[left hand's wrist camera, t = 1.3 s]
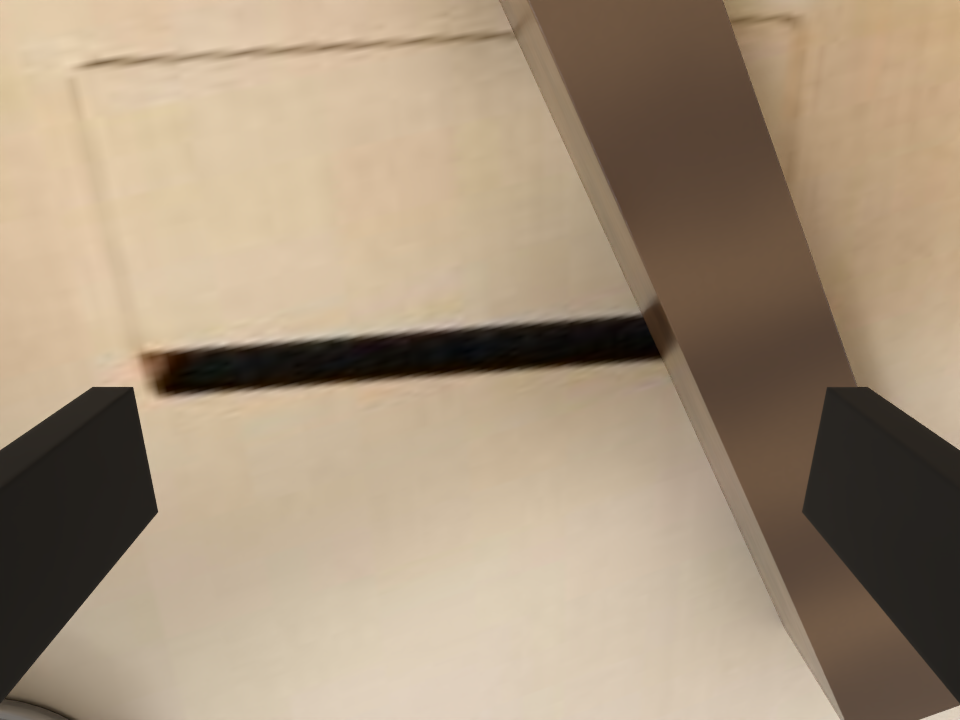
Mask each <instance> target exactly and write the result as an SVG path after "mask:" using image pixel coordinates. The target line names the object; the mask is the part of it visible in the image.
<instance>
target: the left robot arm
mask: <svg viewBox="0 0 960 720" xmlns="http://www.w3.org/2000/svg"><path fill="white" fill-rule="evenodd" d="M157 513H158V509H157V504H156V499H155V494H154V489H153V484H152V479H151V474H150V469H149V464H148V459H147V454H146V449H145V444H144V439H143V434H142V429H141V424H140V419H139V414H138V409H137V404H136V399H135V394H134V389H133V387H92V388H90V389H89V390H88V391H86V392H85V393H83V394H82V395H80V396H79V397H77V398H76V399H74V400H73V401H72V402H70V403H69V404H67V405H66V406H64V407H63V408H61V409H60V410H58V411H57V412H55V413H54V414H53V415H51V416H50V417H48V418H47V419H45V420H44V421H42V422H41V423H39V424H38V425H37V426H35V427H34V428H32V429H31V430H29V431H28V432H26V433H25V434H23V435H22V436H21V437H19V438H18V439H16V440H15V441H13V442H12V443H10V444H9V445H7V446H6V447H4V448H3V449H2V450H0V720H68V719H66V718H64V717H62V716H60V715H58V714H56V713H54V712H51V711H49V710H46V709H43V708H41V707H37V706H34V705H30V704H27V703H22V702H18V701H12V700H6V699H4V698H5V697H6V696H7V695H8V694H9V692H10V691H11V690H12V689H13V688H14V686H15V685H16V684H17V683H18V681H19V680H20V679H21V678H22V677H23V675H24V674H25V673H26V672H27V671H28V669H29V668H30V667H31V666H32V664H33V663H34V662H35V661H36V660H37V658H38V657H39V656H40V655H41V654H42V652H43V651H44V650H45V649H46V647H47V646H48V645H49V644H50V643H51V641H52V640H53V639H54V638H55V637H56V635H57V634H58V633H59V632H60V630H61V629H62V628H63V627H64V626H65V624H66V623H67V622H68V621H69V620H70V618H71V617H72V616H73V615H74V613H75V612H76V611H77V610H78V609H79V607H80V606H81V605H82V604H83V603H84V601H85V600H86V599H87V598H88V596H89V595H90V594H91V593H92V592H93V590H94V589H95V588H96V587H97V586H98V584H99V583H100V582H101V581H102V579H103V578H104V577H105V576H106V575H107V573H108V572H109V571H110V570H111V569H112V567H113V566H114V565H115V564H116V562H117V561H118V560H119V559H120V558H121V556H122V555H123V554H124V553H125V552H126V550H127V549H128V548H129V547H130V546H131V544H132V543H133V542H134V541H135V539H136V538H137V537H138V536H139V535H140V533H141V532H142V531H143V530H144V529H145V527H146V526H147V525H148V524H149V522H150V521H151V520H152V519H153V518H154V516H155V515H156V514H157ZM802 513H803V514H804V515H805V516H806V518H807V519H808V520H809V521H810V522H811V524H812V525H813V526H814V527H815V529H816V530H817V531H818V532H819V533H820V535H821V536H822V537H823V538H824V539H825V541H826V542H827V543H828V544H829V546H830V547H831V548H832V549H833V550H834V552H835V553H836V554H837V555H838V556H839V558H840V559H841V560H842V561H843V562H844V564H845V565H846V566H847V567H848V569H849V570H850V571H851V572H852V573H853V575H854V576H855V577H856V578H857V579H858V581H859V582H860V583H861V584H862V586H863V587H864V588H865V589H866V590H867V592H868V593H869V594H870V595H871V596H872V598H873V599H874V600H875V601H876V603H877V604H878V605H879V606H880V607H881V609H882V610H883V611H884V612H885V613H886V615H887V616H888V617H889V618H890V620H891V621H892V622H893V623H894V624H895V626H896V627H897V628H898V629H899V630H900V632H901V633H902V634H903V635H904V637H905V638H906V639H907V640H908V641H909V643H910V644H911V645H912V646H913V647H914V649H915V650H916V651H917V652H918V654H919V655H920V656H921V657H922V658H923V660H924V661H925V662H926V663H927V664H928V666H929V667H930V668H931V669H932V671H933V672H934V673H935V674H936V675H937V677H938V678H939V679H940V680H941V681H942V683H943V684H944V685H945V686H946V688H947V689H948V690H949V691H950V692H951V694H952V695H953V696H954V697H955V698H956V700H957V701H958V702H959V703H960V450H958V449H957V448H956V447H954V446H953V445H951V444H950V443H948V442H947V441H945V440H944V439H942V438H941V437H939V436H938V435H937V434H935V433H934V432H932V431H931V430H929V429H928V428H926V427H925V426H923V425H922V424H921V423H919V422H918V421H916V420H915V419H913V418H912V417H910V416H909V415H907V414H906V413H905V412H903V411H902V410H900V409H899V408H897V407H896V406H894V405H893V404H891V403H890V402H888V401H887V400H886V399H884V398H883V397H881V396H880V395H878V394H877V393H875V392H874V391H872V390H871V389H870V388H868V387H827V389H826V394H825V399H824V404H823V409H822V414H821V419H820V424H819V429H818V434H817V439H816V444H815V449H814V454H813V459H812V464H811V469H810V474H809V479H808V484H807V489H806V494H805V499H804V504H803V509H802Z"/></svg>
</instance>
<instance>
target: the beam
mask: <svg viewBox="0 0 960 720" xmlns="http://www.w3.org/2000/svg"><path fill="white" fill-rule="evenodd" d="M499 1H500V3H501V5H502V7H503V10H504V12H505V14H506V16H507V18H508V21H509V23H510V25H511V27H512V29H513V32H514V34H515V36H516V38H517V40H518V43H519V45H520V47H521V49H522V51H523V54H524V56H525V58H526V60H527V62H528V65H529V67H530V69H531V71H532V73H533V76H534V78H535V80H536V82H537V84H538V87H539V89H540V91H541V93H542V95H543V98H544V100H545V102H546V104H547V106H548V109H549V111H550V113H551V115H552V117H553V120H554V122H555V124H556V126H557V128H558V131H559V133H560V135H561V137H562V139H563V142H564V144H565V146H566V148H567V150H568V153H569V155H570V157H571V159H572V161H573V164H574V166H575V168H576V170H577V172H578V175H579V177H580V179H581V181H582V183H583V186H584V188H585V190H586V192H587V194H588V197H589V199H590V201H591V203H592V205H593V208H594V210H595V212H596V214H597V216H598V219H599V221H600V223H601V225H602V227H603V230H604V232H605V234H606V236H607V238H608V241H609V243H610V245H611V247H612V249H613V252H614V254H615V256H616V258H617V260H618V263H619V265H620V267H621V269H622V271H623V274H624V276H625V278H626V280H627V282H628V285H629V287H630V289H631V291H632V293H633V296H634V298H635V300H636V302H637V304H638V307H639V309H640V311H641V313H642V316H643V318H644V320H645V322H646V324H647V327H648V329H649V331H650V333H651V335H652V338H653V340H654V342H655V344H656V346H657V349H658V351H659V353H660V355H661V357H662V360H663V362H664V364H665V366H666V368H667V371H668V373H669V375H670V377H671V379H672V382H673V384H674V386H675V388H676V390H677V393H678V395H679V397H680V399H681V401H682V404H683V406H684V408H685V410H686V412H687V415H688V417H689V419H690V421H691V423H692V426H693V428H694V430H695V432H696V434H697V437H698V439H699V441H700V443H701V445H702V448H703V450H704V452H705V454H706V456H707V459H708V461H709V463H710V465H711V467H712V470H713V472H714V474H715V476H716V478H717V481H718V483H719V485H720V487H721V489H722V492H723V494H724V496H725V498H726V500H727V503H728V505H729V507H730V509H731V511H732V514H733V516H734V518H735V520H736V522H737V525H738V527H739V529H740V531H741V533H742V536H743V538H744V540H745V542H746V544H747V547H748V549H749V551H750V553H751V555H752V558H753V560H754V562H755V564H756V566H757V569H758V571H759V573H760V575H761V577H762V580H763V582H764V584H765V586H766V588H767V591H768V593H769V595H770V597H771V599H772V602H773V604H774V606H775V608H776V610H777V613H778V615H779V617H780V619H781V621H782V624H783V626H784V628H785V630H786V631H787V633H788V635H789V636H790V638H791V640H792V641H793V643H794V645H795V646H796V648H797V649H798V651H799V653H800V654H801V656H802V658H803V659H804V661H805V662H806V664H807V666H808V667H809V669H810V671H811V672H812V674H813V676H814V677H815V679H816V680H817V682H818V684H819V685H820V687H821V689H822V690H823V692H824V693H825V695H826V697H827V698H828V700H829V702H830V703H831V705H832V707H833V708H834V710H835V711H836V713H837V715H838V716H839V718H840V720H920V719H923V718H925V717H928V716H931V715H934V714H937V713H939V712H942V711H945V710H948V709H951V708H953V707H956V706H959V705H960V703H959V702H958V701H957V700H956V698H955V697H954V696H953V695H952V694H951V692H950V691H949V690H948V689H947V688H946V686H945V685H944V684H943V683H942V681H941V680H940V679H939V678H938V677H937V675H936V674H935V673H934V672H933V671H932V669H931V668H930V667H929V666H928V664H927V663H926V662H925V661H924V660H923V658H922V657H921V656H920V655H919V654H918V652H917V651H916V650H915V649H914V647H913V646H912V645H911V644H910V643H909V641H908V640H907V639H906V638H905V637H904V635H903V634H902V633H901V632H900V630H899V629H898V628H897V627H896V626H895V624H894V623H893V622H892V621H891V620H890V618H889V617H888V616H887V615H886V613H885V612H884V611H883V610H882V609H881V607H880V606H879V605H878V604H877V603H876V601H875V600H874V599H873V598H872V596H871V595H870V594H869V593H868V592H867V590H866V589H865V588H864V587H863V586H862V584H861V583H860V582H859V581H858V579H857V578H856V577H855V576H854V575H853V573H852V572H851V571H850V570H849V569H848V567H847V566H846V565H845V564H844V562H843V561H842V560H841V559H840V558H839V556H838V555H837V554H836V553H835V552H834V550H833V549H832V548H831V547H830V546H829V544H828V543H827V542H826V541H825V539H824V538H823V537H822V536H821V535H820V533H819V532H818V531H817V530H816V529H815V527H814V526H813V525H812V524H811V522H810V521H809V520H808V519H807V518H806V516H805V515H804V514H803V513H802V509H803V504H804V499H805V494H806V489H807V484H808V479H809V474H810V469H811V464H812V459H813V454H814V449H815V444H816V439H817V434H818V429H819V424H820V419H821V414H822V409H823V404H824V399H825V394H826V389H827V387H857V384H856V381H855V379H854V376H853V373H852V370H851V367H850V364H849V361H848V359H847V356H846V353H845V350H844V347H843V344H842V341H841V338H840V336H839V333H838V330H837V327H836V324H835V321H834V318H833V316H832V313H831V310H830V307H829V304H828V301H827V298H826V296H825V293H824V290H823V287H822V284H821V281H820V278H819V275H818V273H817V270H816V267H815V264H814V261H813V258H812V255H811V253H810V250H809V247H808V244H807V241H806V238H805V235H804V232H803V230H802V227H801V224H800V221H799V218H798V215H797V212H796V210H795V207H794V204H793V201H792V198H791V195H790V192H789V190H788V187H787V184H786V181H785V178H784V175H783V172H782V169H781V167H780V164H779V161H778V158H777V155H776V152H775V149H774V147H773V144H772V141H771V138H770V135H769V132H768V129H767V127H766V124H765V121H764V118H763V115H762V112H761V109H760V106H759V104H758V101H757V98H756V95H755V92H754V89H753V86H752V84H751V81H750V78H749V75H748V72H747V69H746V66H745V64H744V61H743V58H742V55H741V52H740V49H739V46H738V43H737V41H736V38H735V35H734V32H733V29H732V26H731V23H730V21H729V18H728V15H727V12H726V9H725V6H724V3H723V0H499Z"/></svg>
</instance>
